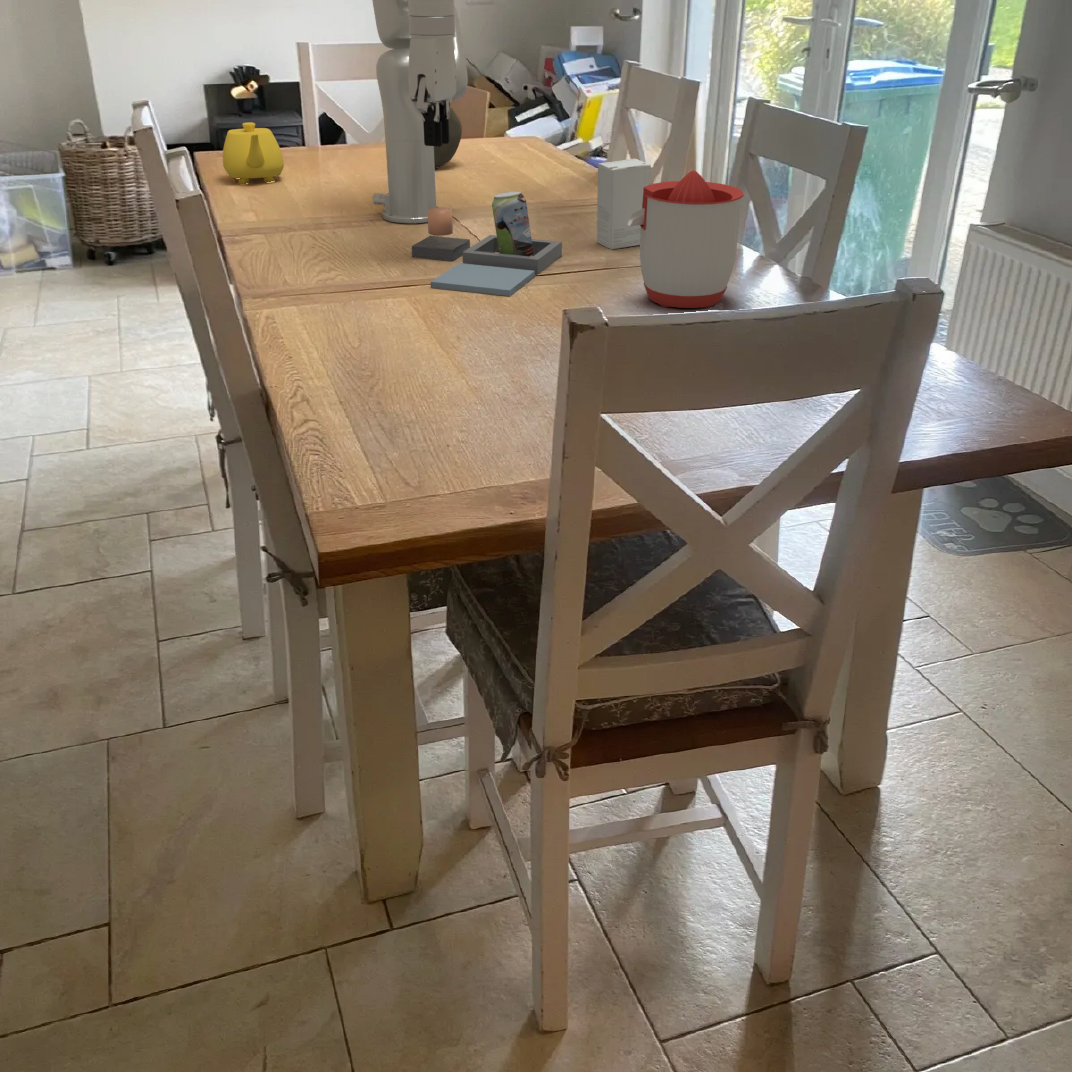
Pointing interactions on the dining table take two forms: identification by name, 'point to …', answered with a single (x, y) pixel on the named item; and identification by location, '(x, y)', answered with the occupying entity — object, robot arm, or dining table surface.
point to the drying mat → (483, 279)
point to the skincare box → (620, 201)
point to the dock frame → (484, 255)
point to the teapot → (252, 154)
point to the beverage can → (512, 224)
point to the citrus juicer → (688, 240)
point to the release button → (440, 221)
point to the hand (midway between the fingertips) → (437, 143)
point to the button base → (440, 248)
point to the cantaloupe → (449, 149)
